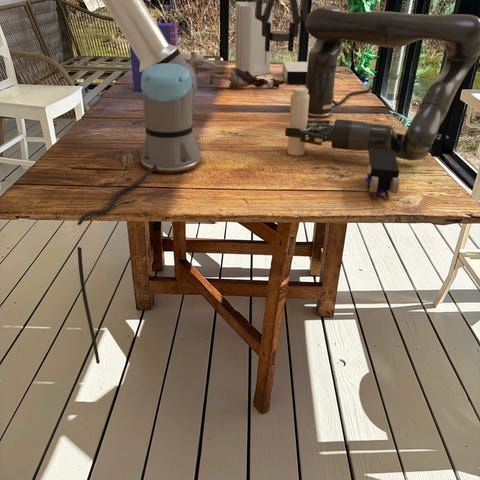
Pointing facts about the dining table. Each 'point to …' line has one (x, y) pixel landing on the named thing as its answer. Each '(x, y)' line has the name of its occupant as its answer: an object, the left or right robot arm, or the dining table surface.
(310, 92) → the right robot arm
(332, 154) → the dining table surface
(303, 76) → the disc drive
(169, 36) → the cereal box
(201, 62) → the toy
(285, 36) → the lid
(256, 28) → the tall white carton
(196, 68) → the anatomical model
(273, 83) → the figurine
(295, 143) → the cream cylindrical bottle
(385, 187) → the figurine character
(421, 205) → the dining table surface
